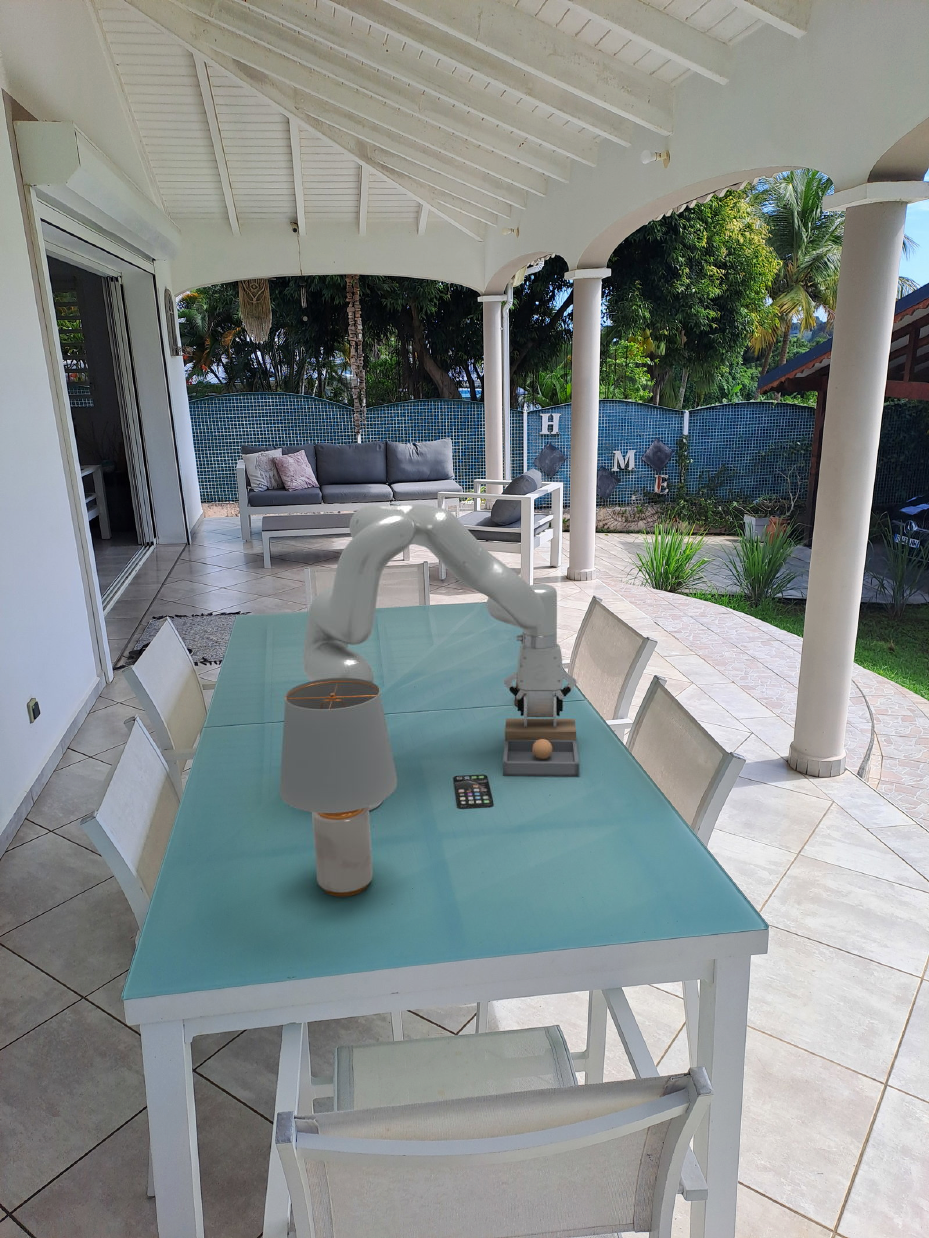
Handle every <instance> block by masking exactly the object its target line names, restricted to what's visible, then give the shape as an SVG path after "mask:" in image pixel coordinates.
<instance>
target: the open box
mask: <svg viewBox="0 0 929 1238" xmlns="http://www.w3.org/2000/svg"><path fill="white" fill-rule="evenodd" d="M556 696H557V694H556V693H555V691H525V693H524V715H523V717H524V718H523V719H524V726H527V719H528V718H552V719H553V725H554V727H556V719H557V714H556Z"/></svg>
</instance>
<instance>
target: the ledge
mask: <svg viewBox="0 0 929 1238" xmlns="http://www.w3.org/2000/svg"><path fill="white" fill-rule="evenodd" d="M539 739H545V740H576V741H577V728H576V719H575V718H556V727H554V725H553V718H527V726H524V718H512V717H511V718H505V727H504V741H505V740H539Z"/></svg>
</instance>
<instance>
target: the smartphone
mask: <svg viewBox="0 0 929 1238" xmlns="http://www.w3.org/2000/svg"><path fill="white" fill-rule="evenodd" d="M452 780H453V786H454V787H453V788H454V794H455V802H456V808H457V809H458V810H467V809H468V810H470V809H486V808H489V809H490V808H493V807H494V806H495V804H494V800H493V795H492V790H491V787H490V780H489V777H488V775H486V774H481V773H480V774H467V775H466V774H464V775H463V774H462V775H455V776H453V778H452Z"/></svg>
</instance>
